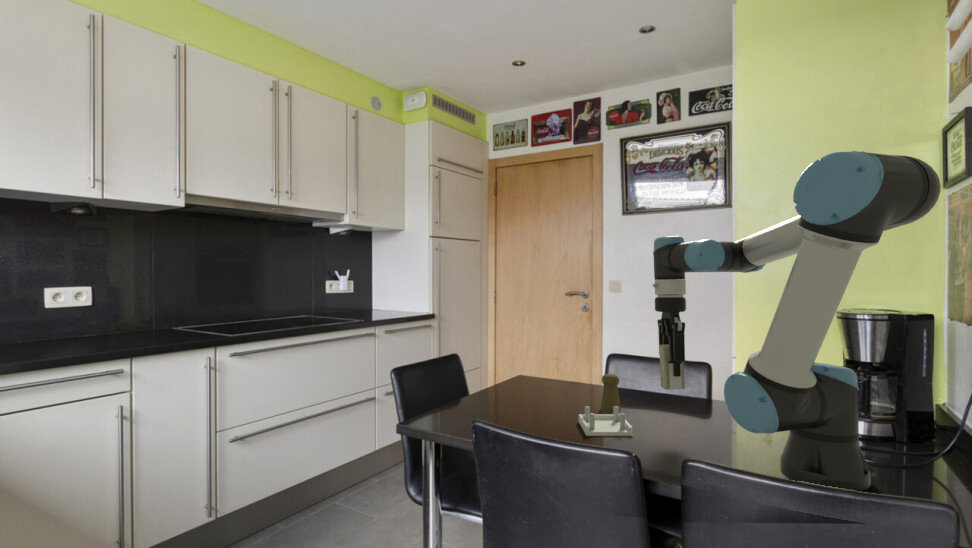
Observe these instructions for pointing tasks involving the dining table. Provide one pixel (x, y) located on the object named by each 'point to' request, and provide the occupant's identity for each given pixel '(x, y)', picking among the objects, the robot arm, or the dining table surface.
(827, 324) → the robot arm
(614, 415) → the tray
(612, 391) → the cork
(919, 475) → the dining table surface
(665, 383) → the box
